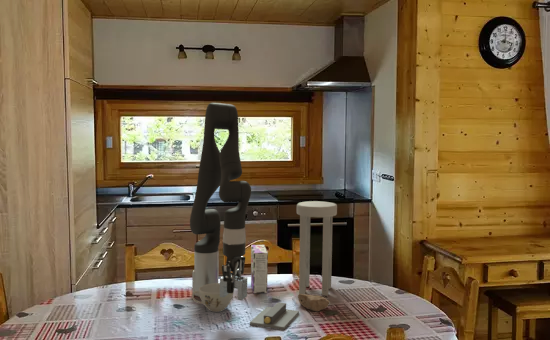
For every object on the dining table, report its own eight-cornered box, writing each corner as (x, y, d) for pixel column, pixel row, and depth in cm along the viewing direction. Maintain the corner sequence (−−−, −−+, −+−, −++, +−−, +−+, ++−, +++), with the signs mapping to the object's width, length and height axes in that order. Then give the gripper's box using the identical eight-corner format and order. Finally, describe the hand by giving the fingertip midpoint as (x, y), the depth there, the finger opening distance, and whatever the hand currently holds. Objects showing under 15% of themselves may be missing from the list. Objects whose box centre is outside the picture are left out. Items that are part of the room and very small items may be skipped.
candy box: (250, 283, 224) (250, 244, 223) (264, 282, 225) (265, 244, 223) (252, 293, 211) (253, 252, 209) (267, 293, 211) (268, 252, 210)
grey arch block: (219, 296, 180) (219, 278, 179) (225, 292, 184) (225, 274, 183) (241, 300, 177) (241, 281, 176) (247, 296, 181) (247, 277, 181)
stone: (311, 313, 190) (312, 300, 189) (295, 304, 200) (295, 291, 199) (332, 310, 194) (333, 296, 193) (315, 300, 204) (316, 288, 203)
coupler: (249, 324, 178) (249, 314, 178) (267, 309, 193) (267, 299, 193) (283, 330, 174) (284, 319, 174) (298, 313, 189) (299, 304, 189)
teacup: (234, 303, 199) (234, 282, 199) (234, 315, 187) (234, 292, 186) (193, 303, 198) (193, 282, 198) (190, 315, 186) (190, 293, 185)
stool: (292, 294, 210) (294, 205, 207) (299, 283, 225) (301, 200, 222) (332, 297, 207) (334, 207, 203) (336, 285, 222) (338, 201, 219)
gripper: (233, 235, 186) (232, 282, 188) (214, 244, 173) (213, 295, 175) (253, 237, 184) (252, 285, 186) (235, 246, 171) (234, 298, 172)
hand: (233, 290), depth 180 cm, fingers closed on grey arch block, 4 cm apart
